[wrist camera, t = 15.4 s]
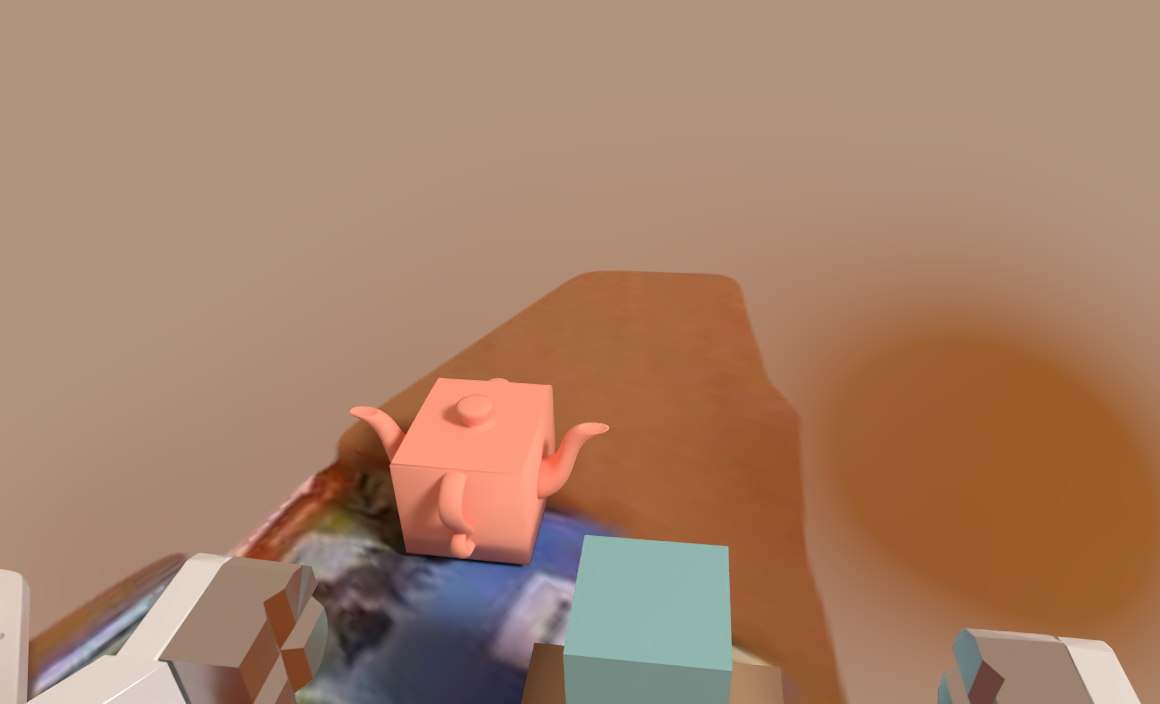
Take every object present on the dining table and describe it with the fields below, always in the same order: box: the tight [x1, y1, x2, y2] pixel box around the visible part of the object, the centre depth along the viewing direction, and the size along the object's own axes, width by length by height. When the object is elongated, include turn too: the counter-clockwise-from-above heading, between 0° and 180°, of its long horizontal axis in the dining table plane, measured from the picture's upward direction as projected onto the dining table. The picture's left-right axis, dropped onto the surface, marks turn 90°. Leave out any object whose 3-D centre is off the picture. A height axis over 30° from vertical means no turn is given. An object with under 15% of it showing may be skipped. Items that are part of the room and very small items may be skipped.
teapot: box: [349, 378, 609, 565], centre depth 45 cm, size 12×15×8 cm
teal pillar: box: [563, 535, 732, 704], centre depth 28 cm, size 5×5×10 cm
